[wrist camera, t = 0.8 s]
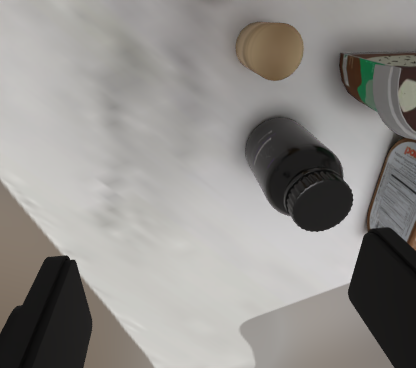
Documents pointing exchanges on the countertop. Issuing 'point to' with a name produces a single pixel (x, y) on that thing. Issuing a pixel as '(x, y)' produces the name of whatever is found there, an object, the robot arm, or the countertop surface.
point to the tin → (396, 193)
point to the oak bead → (270, 49)
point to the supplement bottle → (298, 174)
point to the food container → (384, 86)
